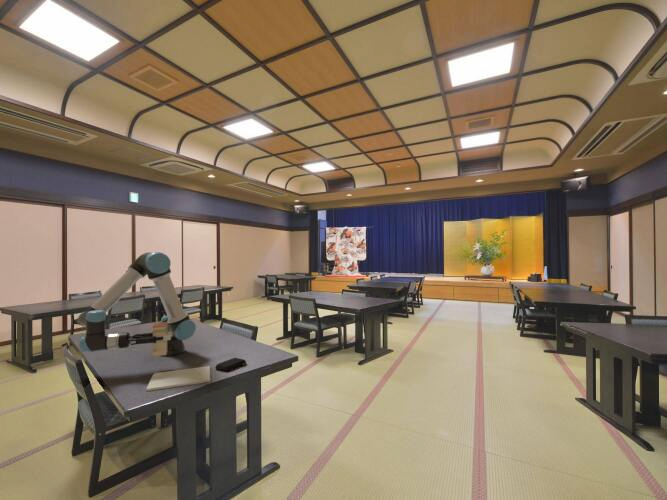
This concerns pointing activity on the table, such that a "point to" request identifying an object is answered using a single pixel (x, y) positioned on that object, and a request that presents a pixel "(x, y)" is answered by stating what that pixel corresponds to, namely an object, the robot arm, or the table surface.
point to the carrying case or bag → (230, 364)
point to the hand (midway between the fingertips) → (171, 335)
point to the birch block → (160, 346)
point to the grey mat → (179, 378)
